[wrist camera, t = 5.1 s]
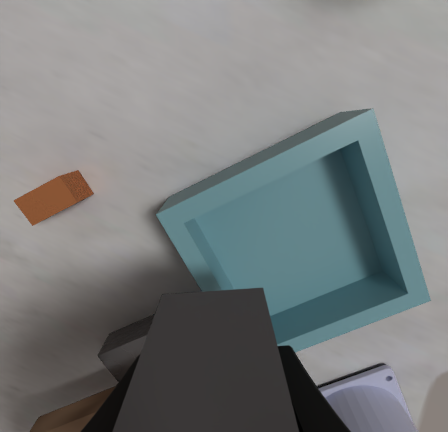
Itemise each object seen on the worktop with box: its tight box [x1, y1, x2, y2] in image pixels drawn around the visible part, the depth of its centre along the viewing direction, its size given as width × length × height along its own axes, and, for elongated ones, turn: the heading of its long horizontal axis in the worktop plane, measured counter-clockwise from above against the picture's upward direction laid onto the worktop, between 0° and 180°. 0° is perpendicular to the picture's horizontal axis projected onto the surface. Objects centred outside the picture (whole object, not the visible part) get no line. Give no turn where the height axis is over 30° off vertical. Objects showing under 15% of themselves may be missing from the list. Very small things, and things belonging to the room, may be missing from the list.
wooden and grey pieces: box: [14, 170, 155, 382], centre depth 18 cm, size 18×7×2 cm, turn 26°
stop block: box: [113, 288, 299, 432], centre depth 8 cm, size 4×4×7 cm
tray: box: [156, 108, 431, 352], centre depth 16 cm, size 11×11×4 cm
